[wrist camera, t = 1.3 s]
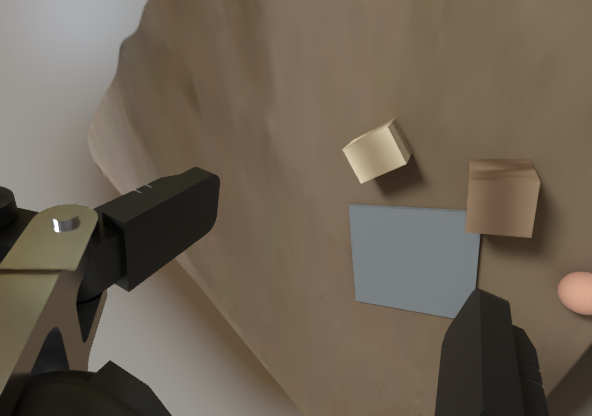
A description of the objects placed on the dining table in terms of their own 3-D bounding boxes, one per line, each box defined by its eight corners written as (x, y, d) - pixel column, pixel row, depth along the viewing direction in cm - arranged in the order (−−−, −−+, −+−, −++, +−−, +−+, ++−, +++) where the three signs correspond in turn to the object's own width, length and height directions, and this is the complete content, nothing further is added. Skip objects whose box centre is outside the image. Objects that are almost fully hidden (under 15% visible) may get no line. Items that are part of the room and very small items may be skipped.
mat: (482, 211, 36) (482, 213, 35) (472, 318, 41) (472, 321, 41) (350, 203, 42) (348, 205, 41) (356, 298, 47) (355, 300, 47)
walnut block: (530, 159, 32) (540, 181, 27) (523, 208, 34) (531, 237, 29) (469, 159, 34) (468, 180, 29) (466, 205, 36) (465, 232, 31)
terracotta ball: (609, 266, 33) (624, 292, 29) (599, 300, 34) (613, 328, 31) (557, 261, 34) (566, 284, 31) (550, 293, 36) (558, 319, 33)
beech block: (395, 118, 35) (387, 126, 32) (412, 152, 36) (406, 164, 33) (353, 139, 38) (342, 149, 35) (370, 170, 39) (360, 183, 36)
